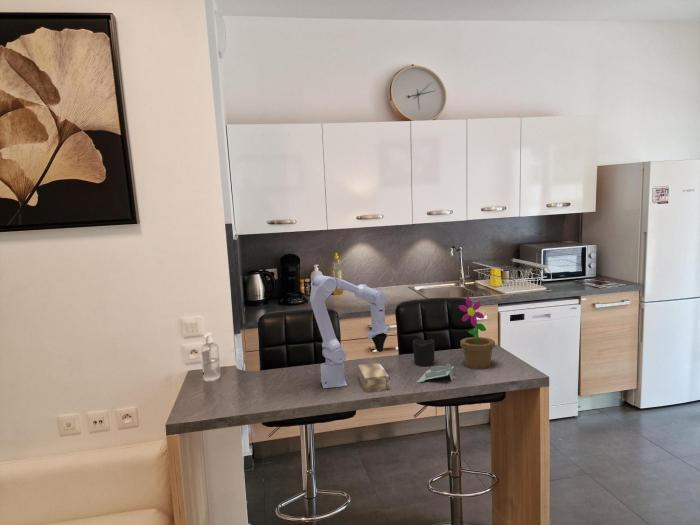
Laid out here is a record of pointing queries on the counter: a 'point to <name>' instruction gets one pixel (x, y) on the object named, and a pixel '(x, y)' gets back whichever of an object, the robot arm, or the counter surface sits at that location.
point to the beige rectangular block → (373, 377)
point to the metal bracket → (437, 373)
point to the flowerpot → (476, 339)
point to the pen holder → (423, 352)
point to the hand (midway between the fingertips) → (379, 351)
